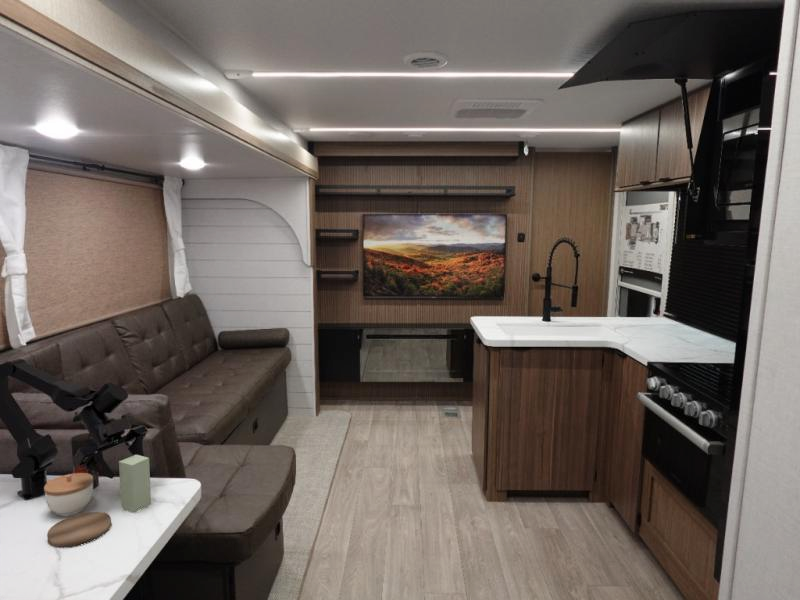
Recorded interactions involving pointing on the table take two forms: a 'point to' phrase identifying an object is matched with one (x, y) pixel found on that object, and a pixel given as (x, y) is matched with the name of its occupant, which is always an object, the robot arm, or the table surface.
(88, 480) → the lidded jar
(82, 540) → the disc
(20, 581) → the table surface
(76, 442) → the deodorant
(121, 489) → the post
